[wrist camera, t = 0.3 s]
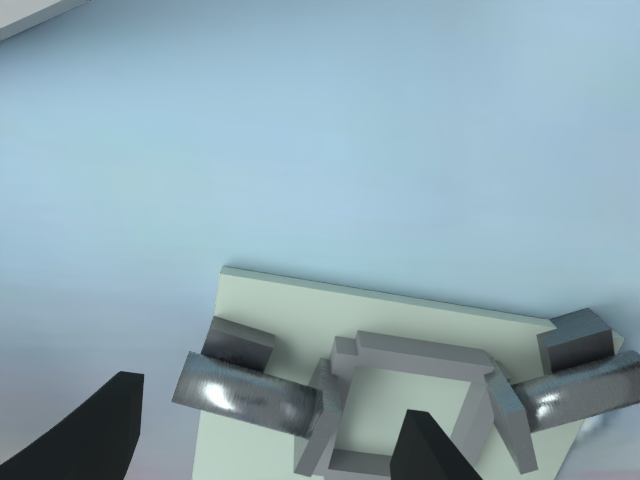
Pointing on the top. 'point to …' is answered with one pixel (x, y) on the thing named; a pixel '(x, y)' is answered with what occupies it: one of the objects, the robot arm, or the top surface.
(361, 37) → the top surface
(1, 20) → the caliper
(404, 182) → the top surface
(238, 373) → the shaft
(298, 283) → the bench plate
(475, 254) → the top surface
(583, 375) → the shaft
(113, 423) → the robot arm
